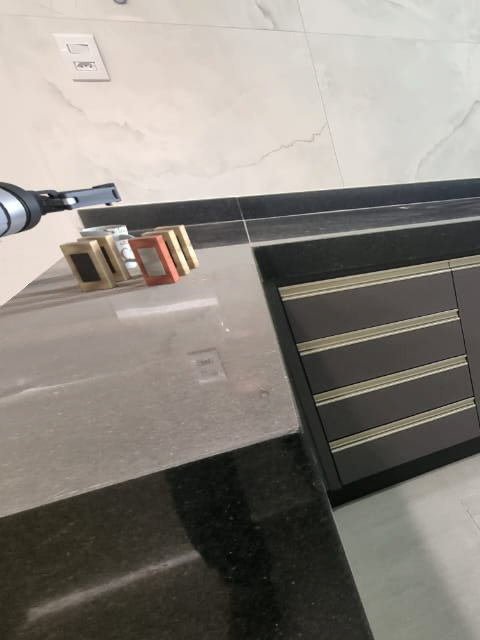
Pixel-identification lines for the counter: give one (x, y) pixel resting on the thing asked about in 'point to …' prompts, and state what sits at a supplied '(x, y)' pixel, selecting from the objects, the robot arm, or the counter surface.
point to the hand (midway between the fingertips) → (68, 193)
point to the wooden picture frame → (177, 247)
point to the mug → (119, 237)
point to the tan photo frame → (95, 262)
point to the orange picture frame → (154, 260)
